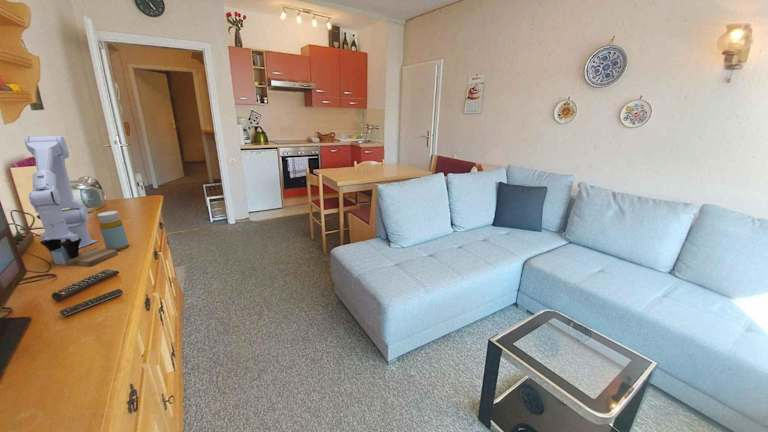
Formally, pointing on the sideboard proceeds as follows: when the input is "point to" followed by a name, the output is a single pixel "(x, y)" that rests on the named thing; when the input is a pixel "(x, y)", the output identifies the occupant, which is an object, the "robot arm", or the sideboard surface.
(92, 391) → the sideboard surface
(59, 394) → the sideboard surface
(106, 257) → the base slab
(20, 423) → the sideboard surface
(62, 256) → the cube
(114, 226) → the bottle
